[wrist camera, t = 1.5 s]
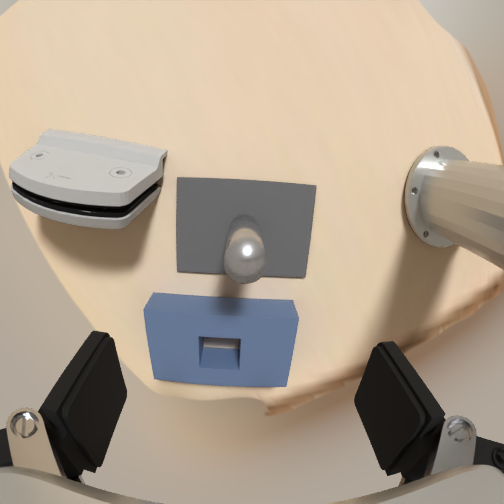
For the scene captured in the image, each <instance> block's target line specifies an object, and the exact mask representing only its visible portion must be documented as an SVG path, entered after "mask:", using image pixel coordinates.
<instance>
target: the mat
mask: <svg viewBox="0 0 504 504" xmlns="http://www.w3.org/2000/svg"><path fill="white" fill-rule="evenodd" d="M315 194H316V185H306V184H295V183H283V182H271V181H256V180H240V179H219V178H187V177H177V209H176V243H177V271H185V272H201V273H219V274H227V273H226V272H225V269H224V256H225V250H226V244H227V238H228V233H229V227H230V224H231V222H232V220H233V219H234V218H235V217H237V216H239V215H249V216H251V217H253V218H254V219H255V220H256V221H257V223H258V226H259V230H260V234H261V238H262V242H263V246H264V250H265V254H266V258H267V268H266V271H265V273H264V275H263V276H282V277H305V276H306V269H307V262H308V254H309V247H310V239H311V230H312V222H313V213H314V204H315Z"/></svg>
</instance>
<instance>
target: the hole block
mask: <svg viewBox="0 0 504 504" xmlns="http://www.w3.org/2000/svg"><path fill="white" fill-rule="evenodd" d="M143 310H144V318H145V325H146V333H147V339H148V346H149V352H150V358H151V364H152V370H153V375H154V379H157V380H165V381H173V382H182V383H193V384H205V385H219V386H241V387H286V386H287V381H288V376H289V371H290V365H291V360H292V355H293V349H294V344H295V338H296V332H297V327H298V321H299V317H298V314H297V311H296V308H295V305H294V302H293V300H272V299H247V298H226V297H209V296H193V295H179V294H166V293H153V294H152V296H151V298H150V299H149V301H148V303H147V304H146V306H145V308H144V309H143ZM203 337H217V338H236V339H240V347H239V349H225V348H209V347H203Z"/></svg>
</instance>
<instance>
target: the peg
mask: <svg viewBox="0 0 504 504" xmlns="http://www.w3.org/2000/svg"><path fill="white" fill-rule="evenodd" d="M266 268H267V258H266V254H265V250H264V246H263V242H262V238H261V234H260V230H259V226H258V223H257V221H256V220H255V219H254V218H253V217H251V216H249V215H239V216H237V217H235V218H234V219H233V220H232V222H231V224H230V227H229V233H228V238H227V244H226V250H225V256H224V269H225V272H226V273H227V275H228V276H229V277H230V278H231V279H232V280H234V281H236V282H238V283H243V284H248V283H253V282H255V281H257V280H258V279H260V278H261V277H262V276H263V275H264V273H265V271H266Z"/></svg>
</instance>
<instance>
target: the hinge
mask: <svg viewBox="0 0 504 504" xmlns="http://www.w3.org/2000/svg"><path fill="white" fill-rule="evenodd" d="M167 151H168V150H165V149H160V148H156V147H151V146H147V145H142V144H137V143H132V142H127V141H122V140H117V139H112V138H106V137H101V136H95V135H89V134H83V133H76V132H69V131H62V130H55V129H49V130H47V131H45V132H43V133H42V134H41V135H40V138H39V140H38V142H37V144H36V145H35V146H34V147H32V148H31V149H29V150H28V151H27V152H25V153H24V154H23V155H21V156H20V157H19V158H17V159H16V160H15V161H13V162H12V163H11V164H10V170H9V178H10V179H11V180H12V181H13V182H12V185H11V191H12V194H13V196H14V198H15V199H16V200H17V201H18V202H19V203H20V204H21V205H22V206H24V207H25V208H27V209H28V210H30V211H32V212H34V213H36V214H38V215H40V216H43V217H45V218H48V219H51V220H55V221H58V222H62V223H66V224H71V225H77V226H83V227H91V228H103V229H122V228H124V227H126V226H127V225H128V224H129V223H130V222H131V221H132V220H133V219H135V218H136V217H137V216H138V215H139V214H140V213H141V212H142V211H143V210H144V209H145V208H146V207H147V206H148V205H149V204H150V203H151V202H153V201H154V200H155V199H156V198H157V196H158V194H159V192H160V189H161V187H158V184H155V183H156V182H157V181H159V179H160V178H161V177H163V158H164V157H166V156H167Z"/></svg>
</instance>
